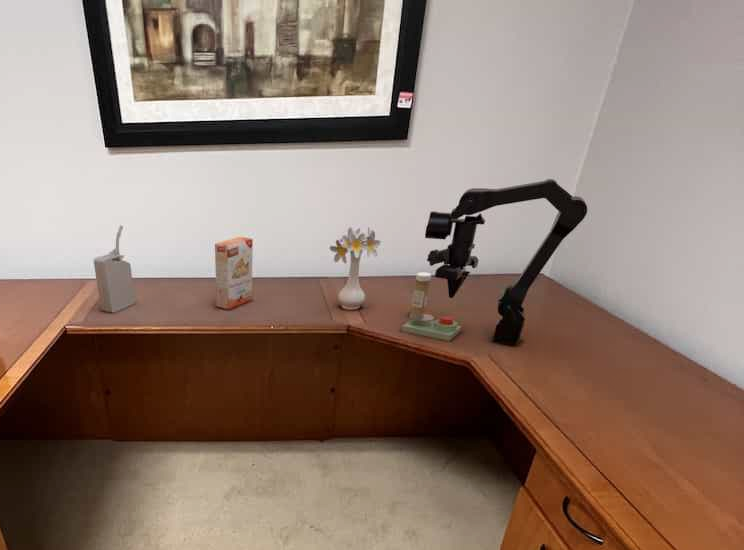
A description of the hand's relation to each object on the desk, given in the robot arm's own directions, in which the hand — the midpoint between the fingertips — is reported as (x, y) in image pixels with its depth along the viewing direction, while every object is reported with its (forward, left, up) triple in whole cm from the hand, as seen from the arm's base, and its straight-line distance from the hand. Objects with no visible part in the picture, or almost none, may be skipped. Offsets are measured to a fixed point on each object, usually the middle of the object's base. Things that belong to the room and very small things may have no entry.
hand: (451, 297), depth 164 cm
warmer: (+4, 0, -11) cm, 12 cm away
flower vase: (+35, -6, -11) cm, 38 cm away
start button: (0, 0, -8) cm, 8 cm away
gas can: (+103, +38, -11) cm, 111 cm away
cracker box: (+71, +13, -11) cm, 73 cm away
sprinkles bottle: (+13, -11, -11) cm, 21 cm away
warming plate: (+8, 0, -8) cm, 11 cm away
